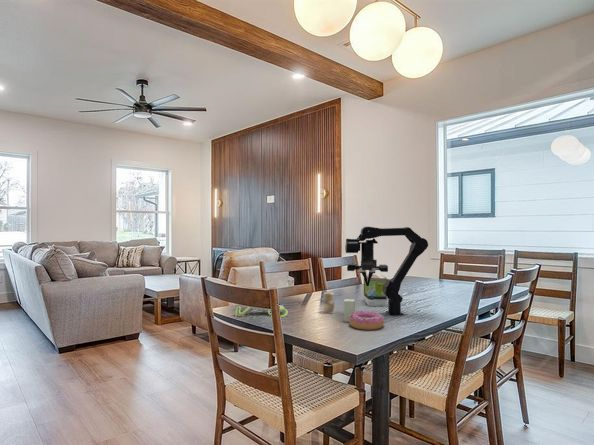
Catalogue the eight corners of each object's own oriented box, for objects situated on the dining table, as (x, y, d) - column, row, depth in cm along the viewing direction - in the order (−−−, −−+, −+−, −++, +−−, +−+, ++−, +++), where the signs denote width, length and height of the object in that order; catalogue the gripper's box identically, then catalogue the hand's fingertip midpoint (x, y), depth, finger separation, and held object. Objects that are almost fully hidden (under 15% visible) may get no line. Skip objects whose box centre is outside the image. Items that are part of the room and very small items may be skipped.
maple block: (334, 311, 183) (334, 292, 183) (333, 313, 179) (332, 294, 179) (325, 310, 184) (324, 292, 184) (323, 312, 180) (323, 294, 180)
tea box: (387, 306, 193) (387, 277, 194) (367, 306, 194) (367, 277, 194) (381, 300, 209) (381, 273, 209) (363, 300, 209) (363, 273, 209)
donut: (390, 326, 157) (390, 314, 157) (370, 333, 147) (370, 320, 147) (362, 320, 167) (362, 308, 167) (342, 326, 157) (341, 314, 157)
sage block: (354, 319, 167) (354, 299, 167) (354, 322, 162) (354, 301, 162) (344, 319, 168) (344, 298, 168) (343, 321, 163) (343, 300, 163)
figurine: (239, 308, 192) (239, 297, 192) (291, 309, 189) (291, 298, 189) (229, 317, 173) (228, 305, 173) (286, 318, 170) (286, 306, 170)
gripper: (346, 254, 172) (346, 288, 172) (388, 254, 168) (388, 289, 168) (348, 252, 183) (348, 284, 183) (387, 252, 179) (387, 285, 179)
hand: (367, 286), depth 178 cm, fingers closed
